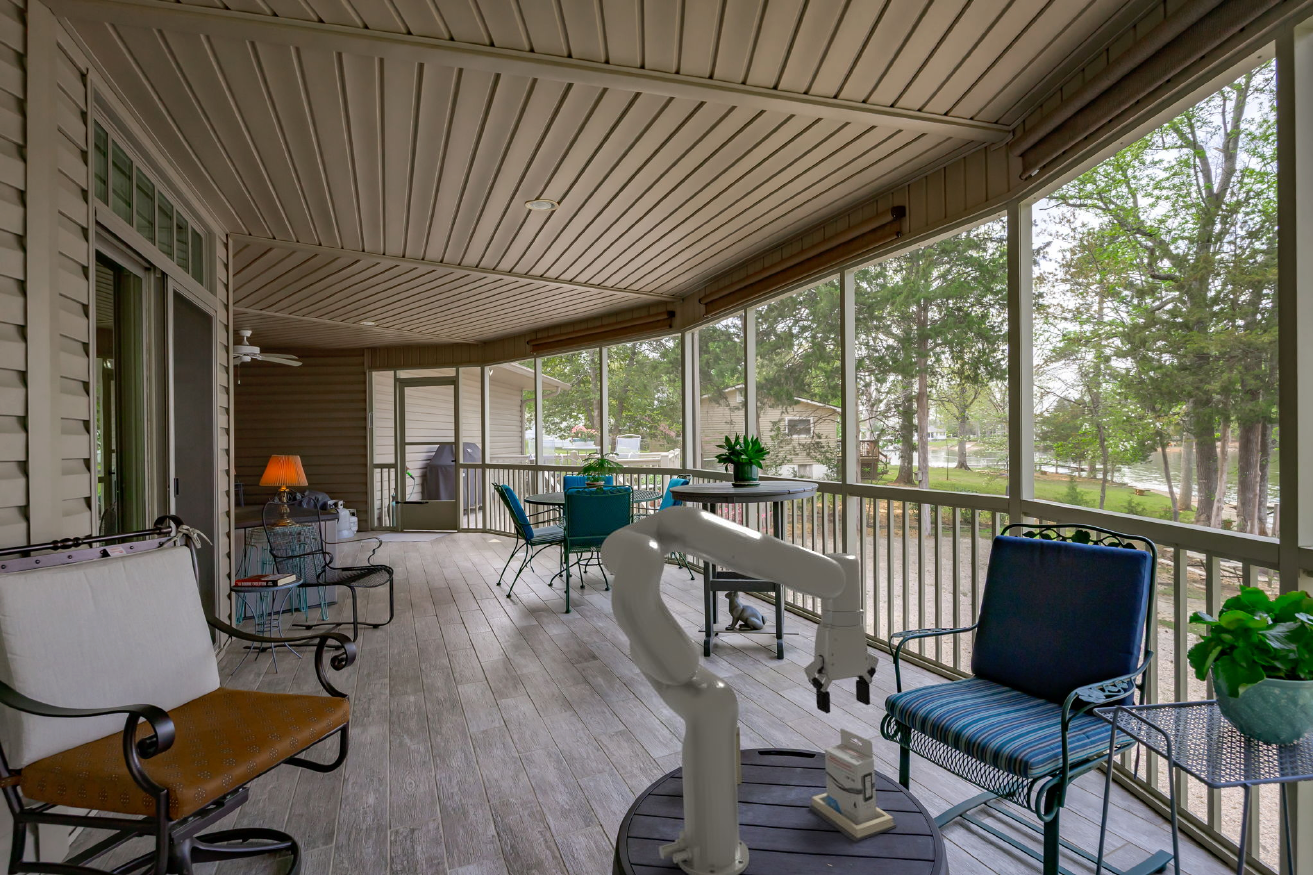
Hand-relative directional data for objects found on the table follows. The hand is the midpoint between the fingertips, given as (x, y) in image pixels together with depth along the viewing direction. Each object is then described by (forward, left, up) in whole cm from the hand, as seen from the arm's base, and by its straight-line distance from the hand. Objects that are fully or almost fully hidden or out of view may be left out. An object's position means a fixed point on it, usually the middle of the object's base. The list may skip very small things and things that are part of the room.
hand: (843, 706), depth 124 cm
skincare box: (-13, +24, -21) cm, 35 cm away
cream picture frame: (+1, 0, -21) cm, 21 cm away
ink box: (+1, 0, -21) cm, 21 cm away
